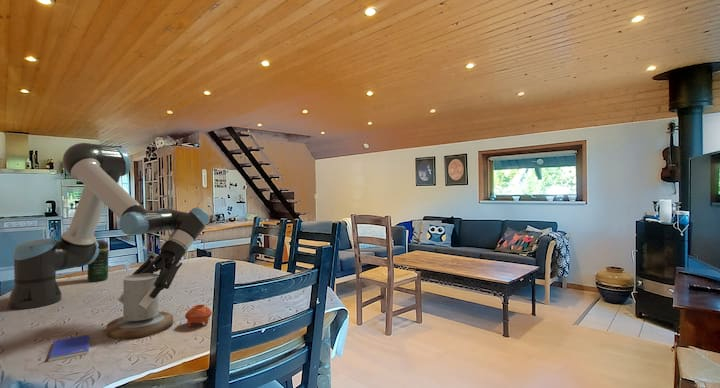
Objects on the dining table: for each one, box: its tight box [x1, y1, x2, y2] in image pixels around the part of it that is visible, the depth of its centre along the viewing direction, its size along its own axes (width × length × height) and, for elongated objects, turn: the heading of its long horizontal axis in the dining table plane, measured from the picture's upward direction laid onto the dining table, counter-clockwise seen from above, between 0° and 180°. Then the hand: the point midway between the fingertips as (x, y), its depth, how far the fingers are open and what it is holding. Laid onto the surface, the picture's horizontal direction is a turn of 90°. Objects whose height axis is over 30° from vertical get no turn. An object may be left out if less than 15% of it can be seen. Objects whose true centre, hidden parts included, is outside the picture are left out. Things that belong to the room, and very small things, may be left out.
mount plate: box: [105, 310, 174, 340], centre depth 114 cm, size 18×18×2 cm
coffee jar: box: [87, 239, 109, 282], centre depth 172 cm, size 10×8×19 cm
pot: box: [184, 304, 213, 328], centre depth 118 cm, size 8×8×7 cm
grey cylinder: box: [122, 272, 159, 321], centre depth 114 cm, size 10×10×12 cm
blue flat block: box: [48, 334, 91, 363], centre depth 99 cm, size 2×8×12 cm
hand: (131, 304), depth 112 cm, fingers closed on grey cylinder, 9 cm apart
